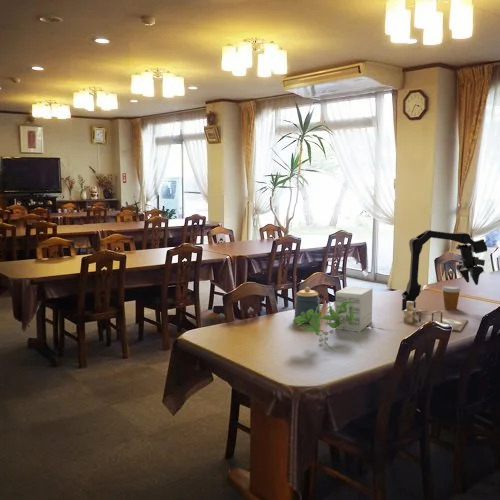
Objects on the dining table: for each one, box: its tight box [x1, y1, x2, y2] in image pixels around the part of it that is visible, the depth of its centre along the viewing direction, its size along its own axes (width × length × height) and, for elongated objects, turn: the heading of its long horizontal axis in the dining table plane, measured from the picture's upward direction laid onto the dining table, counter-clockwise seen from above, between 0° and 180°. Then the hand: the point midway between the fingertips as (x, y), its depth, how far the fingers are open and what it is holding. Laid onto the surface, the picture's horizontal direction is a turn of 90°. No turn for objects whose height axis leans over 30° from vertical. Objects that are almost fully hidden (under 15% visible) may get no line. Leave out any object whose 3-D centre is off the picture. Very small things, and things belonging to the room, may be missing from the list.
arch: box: [403, 301, 417, 323], centre depth 269 cm, size 4×8×10 cm, turn 149°
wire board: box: [396, 309, 469, 333], centre depth 268 cm, size 30×22×7 cm
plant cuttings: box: [292, 301, 370, 352], centre depth 232 cm, size 35×17×22 cm
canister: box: [293, 286, 321, 325], centre depth 273 cm, size 13×13×18 cm
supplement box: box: [335, 285, 373, 332], centre depth 263 cm, size 17×13×18 cm
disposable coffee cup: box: [441, 285, 461, 311], centre depth 298 cm, size 10×10×12 cm
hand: (472, 283), depth 291 cm, fingers open, 9 cm apart
